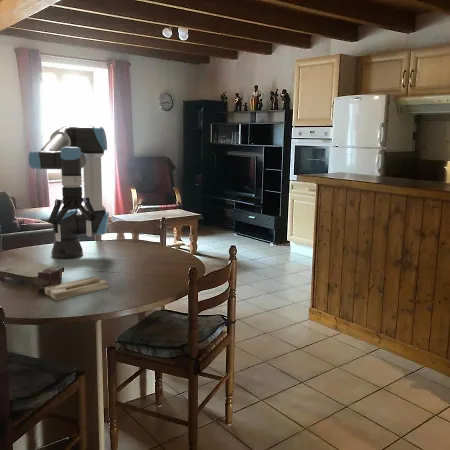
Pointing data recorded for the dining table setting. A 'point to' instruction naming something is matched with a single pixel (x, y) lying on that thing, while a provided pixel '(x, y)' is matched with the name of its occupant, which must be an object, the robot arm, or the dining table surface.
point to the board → (75, 288)
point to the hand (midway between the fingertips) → (74, 238)
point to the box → (48, 278)
